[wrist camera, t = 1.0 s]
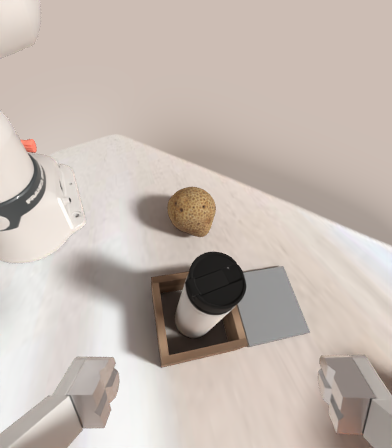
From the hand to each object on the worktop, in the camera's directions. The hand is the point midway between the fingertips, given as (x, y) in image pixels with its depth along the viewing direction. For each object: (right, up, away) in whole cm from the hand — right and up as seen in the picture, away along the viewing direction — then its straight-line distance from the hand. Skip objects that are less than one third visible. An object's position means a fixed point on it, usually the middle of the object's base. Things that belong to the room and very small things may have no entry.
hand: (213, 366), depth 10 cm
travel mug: (-1, -10, +32) cm, 34 cm away
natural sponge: (-2, +5, +42) cm, 42 cm away
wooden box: (-1, -10, +32) cm, 34 cm away
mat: (+12, -9, +35) cm, 38 cm away
